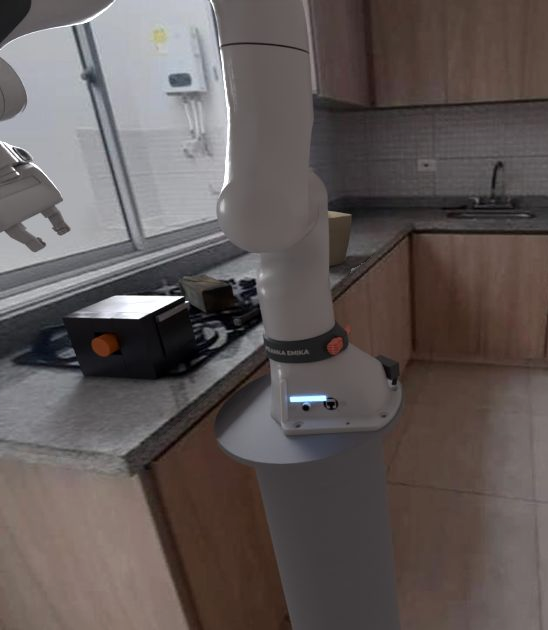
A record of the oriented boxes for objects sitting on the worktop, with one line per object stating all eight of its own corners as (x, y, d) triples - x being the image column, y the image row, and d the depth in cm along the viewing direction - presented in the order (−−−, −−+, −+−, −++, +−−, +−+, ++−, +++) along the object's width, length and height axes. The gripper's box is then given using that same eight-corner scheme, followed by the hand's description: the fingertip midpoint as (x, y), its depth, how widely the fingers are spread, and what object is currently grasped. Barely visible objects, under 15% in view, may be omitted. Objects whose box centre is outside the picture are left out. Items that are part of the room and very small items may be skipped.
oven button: (126, 348, 81) (121, 331, 80) (112, 357, 78) (106, 338, 77) (110, 348, 82) (104, 330, 81) (95, 356, 79) (88, 338, 78)
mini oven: (202, 350, 91) (188, 296, 87) (161, 379, 80) (143, 319, 76) (132, 348, 94) (115, 295, 90) (83, 375, 83) (61, 317, 79)
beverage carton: (210, 292, 129) (205, 271, 127) (237, 306, 116) (232, 283, 114) (181, 299, 124) (175, 277, 122) (206, 315, 111) (200, 290, 109)
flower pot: (331, 254, 167) (325, 209, 161) (358, 263, 153) (352, 214, 147) (283, 264, 156) (275, 216, 150) (307, 274, 142) (300, 222, 136)
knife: (277, 293, 120) (292, 294, 119) (278, 299, 121) (293, 300, 119) (227, 318, 103) (245, 319, 102) (229, 325, 104) (246, 327, 102)
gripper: (-44, 166, 60) (41, 251, 67) (31, 148, 77) (92, 217, 84) (-86, 187, 60) (4, 270, 67) (-1, 165, 77) (63, 233, 84)
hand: (54, 240), depth 76 cm, fingers open, 8 cm apart
